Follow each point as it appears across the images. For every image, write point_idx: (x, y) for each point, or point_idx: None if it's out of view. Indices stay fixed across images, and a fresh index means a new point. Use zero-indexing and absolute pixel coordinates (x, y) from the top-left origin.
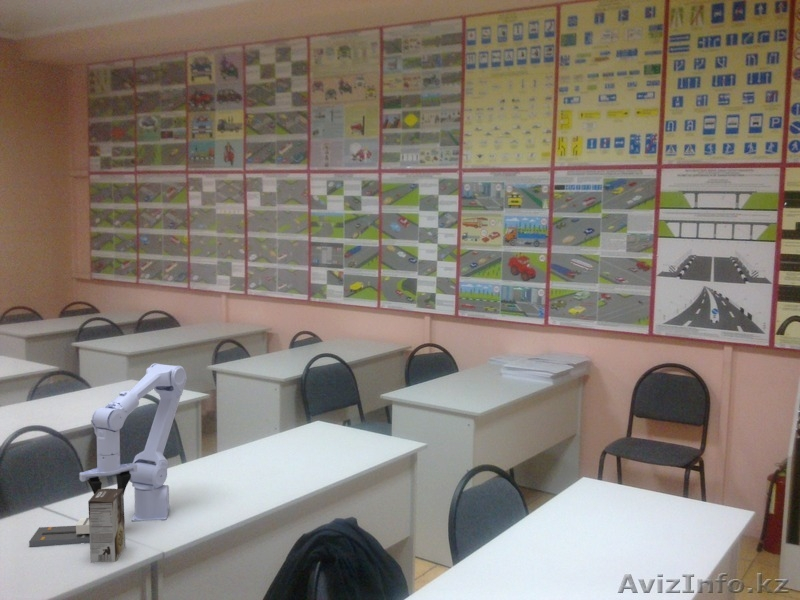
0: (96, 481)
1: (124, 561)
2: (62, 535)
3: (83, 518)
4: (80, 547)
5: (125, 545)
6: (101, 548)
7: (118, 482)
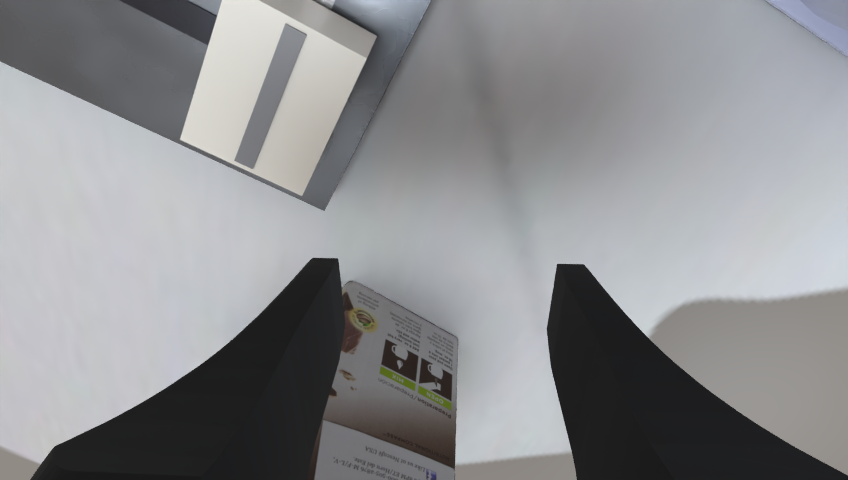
0: None
1: None
2: (112, 39)
3: (254, 10)
4: (245, 195)
5: (457, 350)
6: None
7: (609, 448)
